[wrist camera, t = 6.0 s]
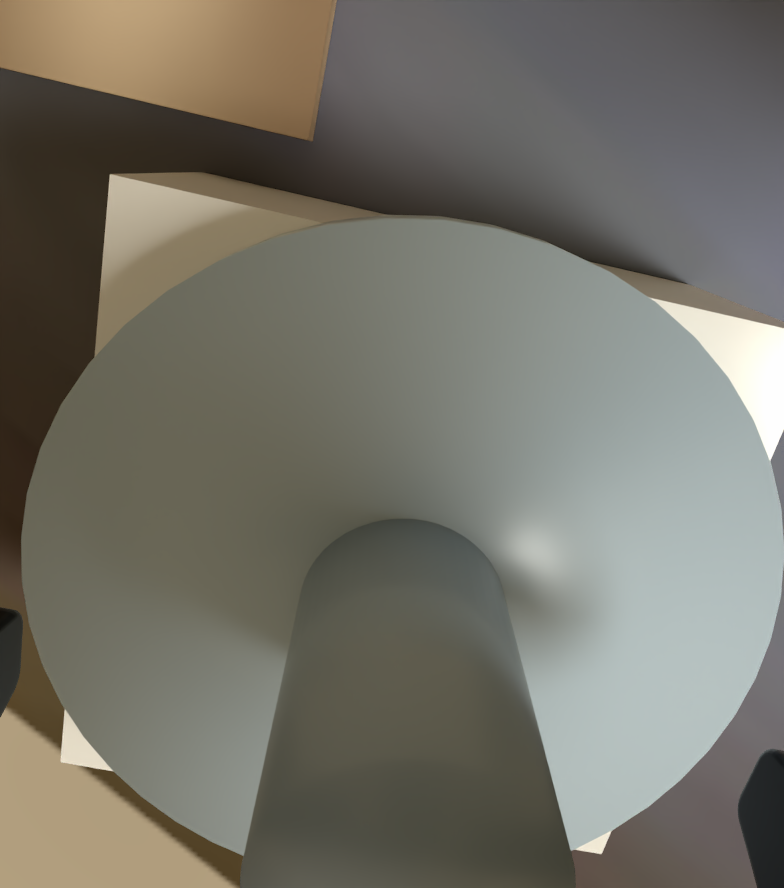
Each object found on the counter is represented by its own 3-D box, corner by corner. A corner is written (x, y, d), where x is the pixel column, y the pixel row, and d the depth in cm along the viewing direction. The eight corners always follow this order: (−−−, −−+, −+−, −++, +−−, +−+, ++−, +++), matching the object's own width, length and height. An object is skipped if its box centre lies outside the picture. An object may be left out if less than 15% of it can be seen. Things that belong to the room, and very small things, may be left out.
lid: (873, 314, 10) (1348, 458, 5) (619, 879, 14) (751, 1290, 9) (78, 127, 10) (-291, 81, 4) (32, 780, 13) (-197, 1168, 8)
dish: (690, 284, 15) (823, 337, 10) (549, 680, 19) (601, 854, 14) (202, 172, 14) (110, 173, 10) (148, 605, 18) (60, 762, 13)
